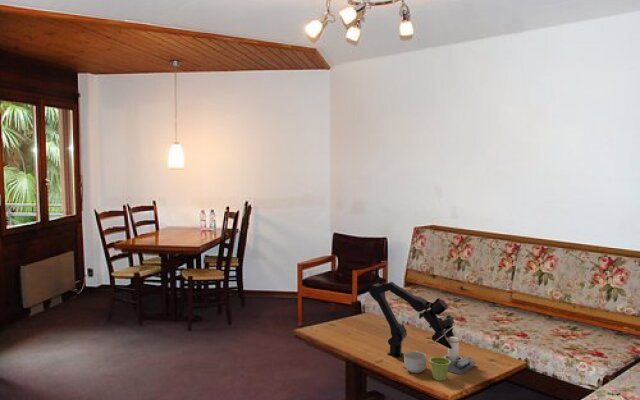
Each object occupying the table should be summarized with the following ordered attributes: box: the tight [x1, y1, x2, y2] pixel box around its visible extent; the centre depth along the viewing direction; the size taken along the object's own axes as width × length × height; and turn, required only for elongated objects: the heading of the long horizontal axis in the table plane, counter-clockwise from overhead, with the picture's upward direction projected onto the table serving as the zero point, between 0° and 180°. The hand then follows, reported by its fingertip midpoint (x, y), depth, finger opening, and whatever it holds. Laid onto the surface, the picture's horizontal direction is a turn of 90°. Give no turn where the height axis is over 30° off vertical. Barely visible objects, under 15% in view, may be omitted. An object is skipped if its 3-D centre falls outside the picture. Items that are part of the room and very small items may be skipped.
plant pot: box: [429, 356, 450, 382], centre depth 254 cm, size 9×9×9 cm
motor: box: [443, 354, 476, 376], centre depth 270 cm, size 16×13×5 cm
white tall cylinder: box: [447, 336, 460, 360], centre depth 270 cm, size 5×5×12 cm
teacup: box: [403, 350, 427, 374], centre depth 265 cm, size 14×11×8 cm
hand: (453, 345), depth 270 cm, fingers open, 9 cm apart
